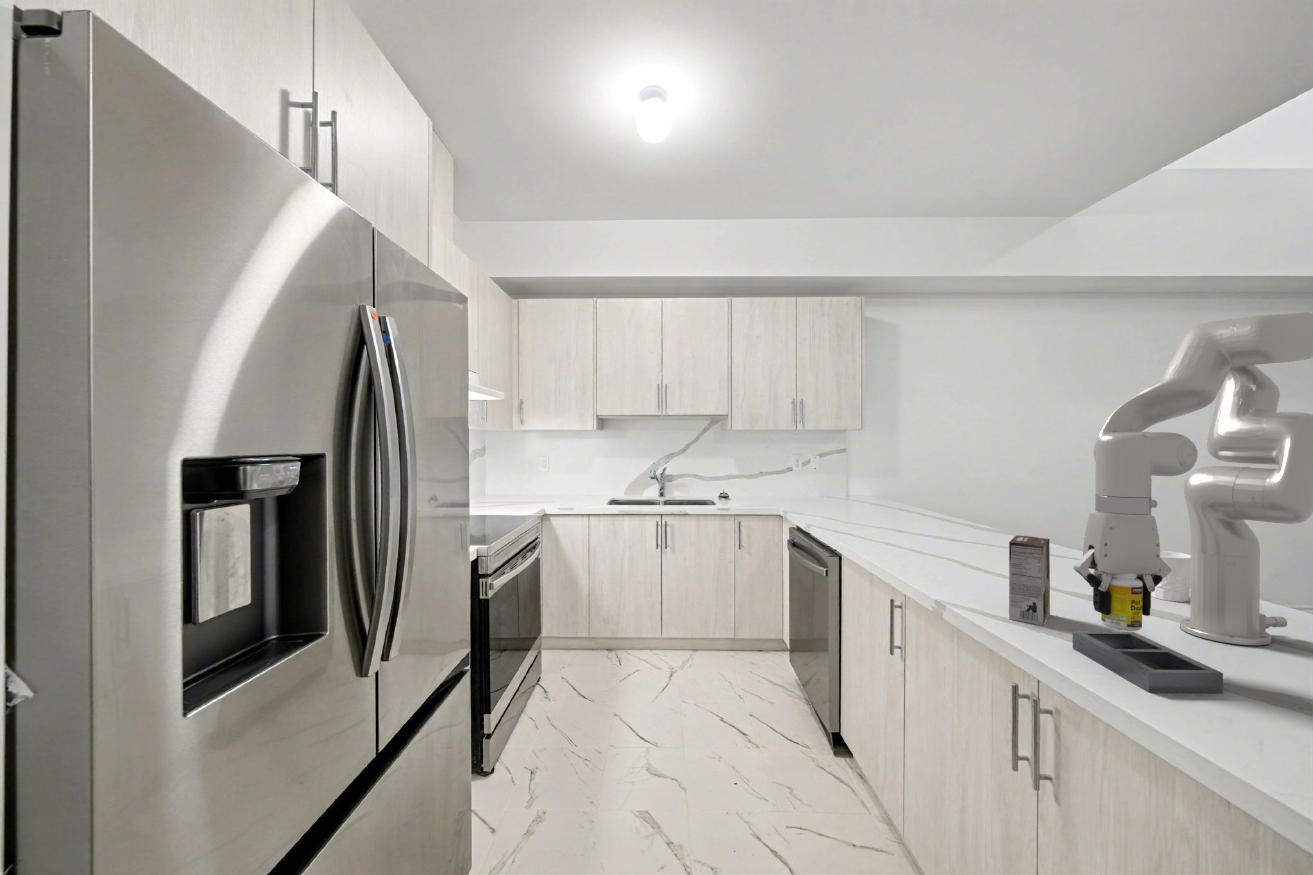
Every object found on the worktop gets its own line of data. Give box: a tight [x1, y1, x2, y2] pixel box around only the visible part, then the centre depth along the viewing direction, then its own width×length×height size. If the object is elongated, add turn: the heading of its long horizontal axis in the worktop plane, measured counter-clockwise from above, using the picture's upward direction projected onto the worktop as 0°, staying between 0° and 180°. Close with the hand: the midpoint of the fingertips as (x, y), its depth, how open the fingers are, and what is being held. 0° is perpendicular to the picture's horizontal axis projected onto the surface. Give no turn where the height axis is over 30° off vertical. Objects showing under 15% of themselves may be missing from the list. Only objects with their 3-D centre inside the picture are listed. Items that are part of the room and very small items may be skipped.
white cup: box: [1151, 550, 1191, 603], centre depth 139 cm, size 8×8×10 cm
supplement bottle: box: [1100, 574, 1143, 632], centre depth 103 cm, size 6×6×10 cm
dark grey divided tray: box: [1072, 631, 1224, 694], centre depth 99 cm, size 18×10×3 cm, turn 177°
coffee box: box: [1008, 535, 1051, 626], centre depth 126 cm, size 9×6×16 cm
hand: (1121, 611), depth 103 cm, fingers closed on supplement bottle, 5 cm apart
